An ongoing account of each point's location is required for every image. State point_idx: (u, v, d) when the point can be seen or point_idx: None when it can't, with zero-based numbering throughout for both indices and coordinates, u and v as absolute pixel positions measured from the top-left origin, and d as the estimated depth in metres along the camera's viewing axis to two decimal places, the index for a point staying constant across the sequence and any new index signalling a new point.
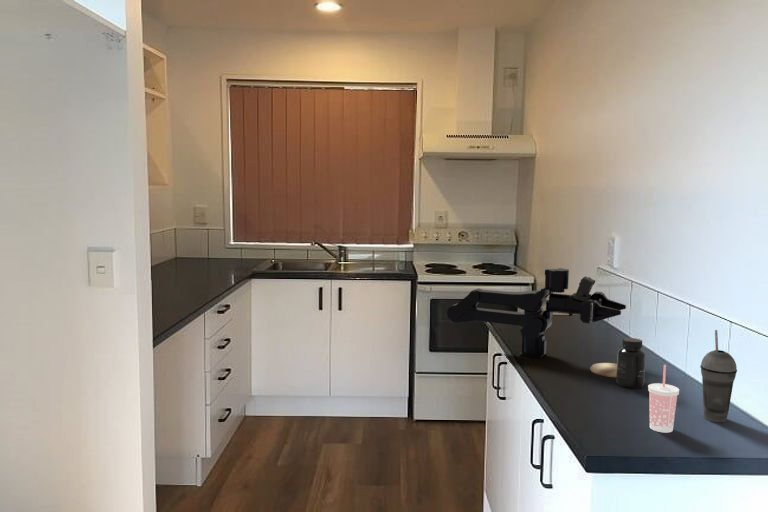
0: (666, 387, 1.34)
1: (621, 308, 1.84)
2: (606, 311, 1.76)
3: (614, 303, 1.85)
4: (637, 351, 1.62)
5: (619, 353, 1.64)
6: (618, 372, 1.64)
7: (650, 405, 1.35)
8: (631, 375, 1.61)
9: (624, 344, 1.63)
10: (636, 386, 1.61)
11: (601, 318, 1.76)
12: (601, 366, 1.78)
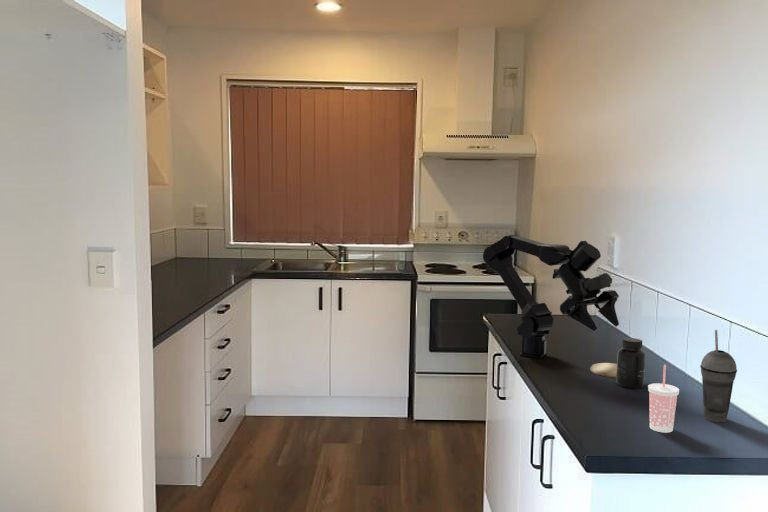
0: (666, 387, 1.34)
1: (613, 323, 1.73)
2: (585, 318, 1.69)
3: (612, 314, 1.74)
4: (637, 351, 1.62)
5: (619, 353, 1.64)
6: (618, 372, 1.64)
7: (650, 405, 1.35)
8: (631, 375, 1.61)
9: (624, 344, 1.63)
10: (636, 386, 1.61)
11: (577, 319, 1.70)
12: (601, 366, 1.78)
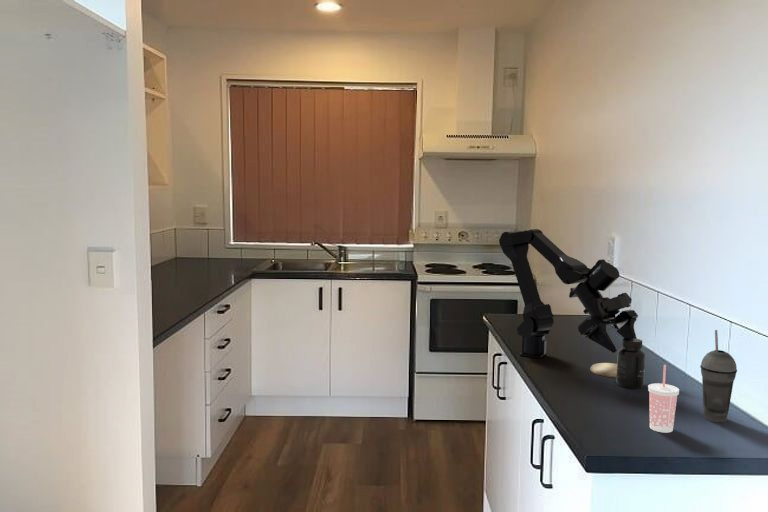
0: (666, 387, 1.34)
1: None
2: (604, 340, 1.64)
3: (632, 335, 1.69)
4: (637, 351, 1.62)
5: (619, 353, 1.64)
6: (618, 372, 1.64)
7: (650, 405, 1.35)
8: (631, 375, 1.61)
9: (624, 344, 1.63)
10: (636, 386, 1.61)
11: (596, 341, 1.65)
12: (601, 366, 1.78)
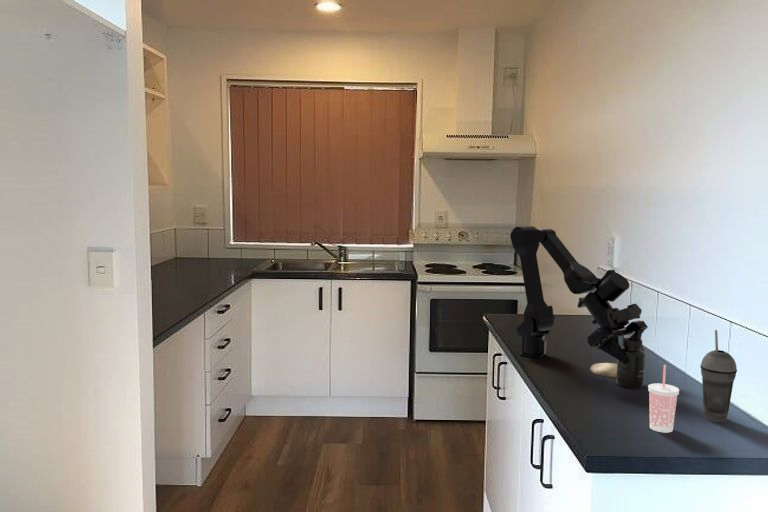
0: (666, 387, 1.34)
1: None
2: (616, 351, 1.62)
3: None
4: (637, 351, 1.62)
5: None
6: (618, 372, 1.64)
7: (650, 405, 1.35)
8: (631, 375, 1.61)
9: (624, 344, 1.63)
10: (636, 386, 1.61)
11: (607, 352, 1.64)
12: (601, 366, 1.78)
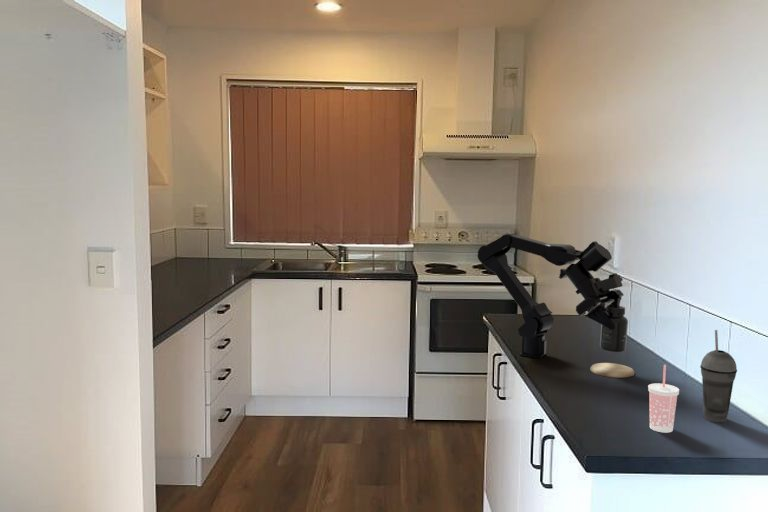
0: (666, 387, 1.34)
1: None
2: (603, 318, 1.72)
3: None
4: (621, 317, 1.72)
5: None
6: (603, 338, 1.74)
7: (650, 405, 1.35)
8: (616, 340, 1.72)
9: (609, 311, 1.73)
10: (621, 350, 1.72)
11: (594, 319, 1.73)
12: (601, 366, 1.78)
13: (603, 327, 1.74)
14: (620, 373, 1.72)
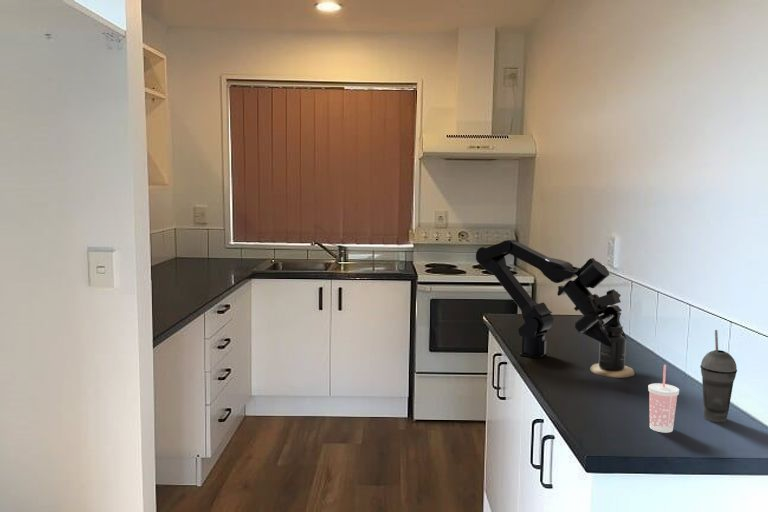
0: (666, 387, 1.34)
1: None
2: (601, 335, 1.72)
3: None
4: (619, 336, 1.74)
5: None
6: (602, 357, 1.75)
7: (650, 405, 1.35)
8: (615, 359, 1.73)
9: (607, 330, 1.74)
10: (619, 369, 1.73)
11: (592, 336, 1.73)
12: None
13: (601, 346, 1.75)
14: (620, 373, 1.72)
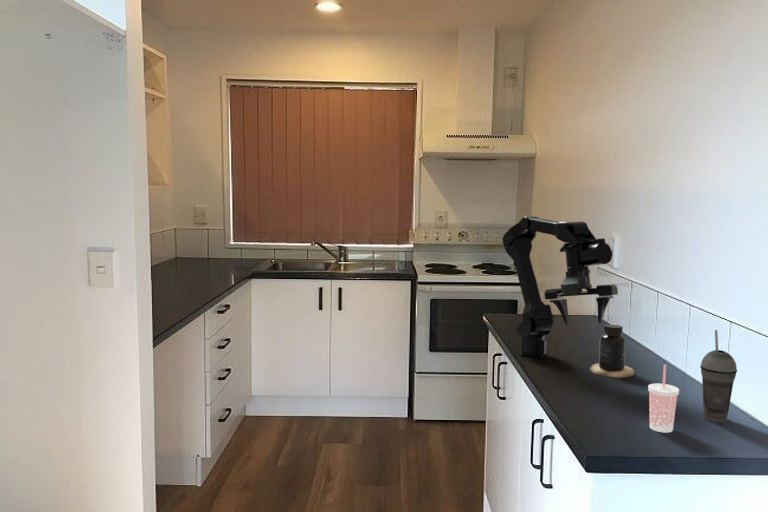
0: (666, 387, 1.34)
1: None
2: None
3: None
4: (619, 337, 1.73)
5: (603, 339, 1.75)
6: (602, 357, 1.75)
7: (650, 405, 1.35)
8: (615, 359, 1.73)
9: (607, 330, 1.74)
10: (620, 369, 1.73)
11: None
12: None
13: (601, 346, 1.75)
14: (620, 373, 1.72)
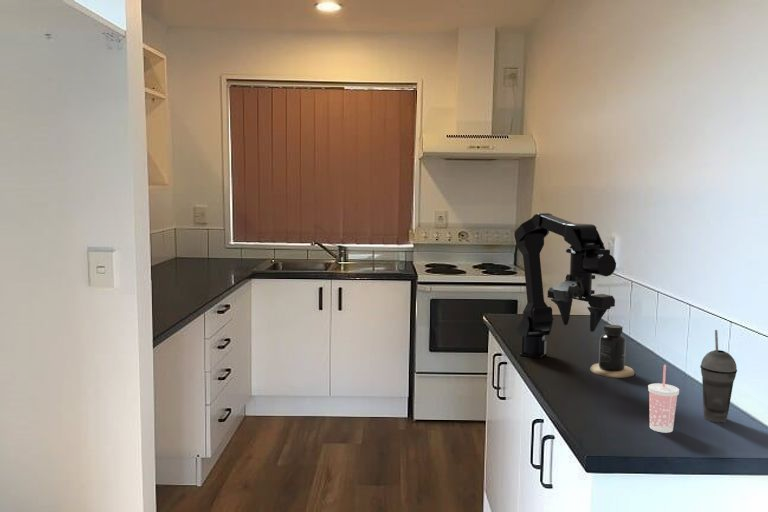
0: (666, 387, 1.34)
1: None
2: None
3: None
4: (619, 337, 1.73)
5: (603, 339, 1.75)
6: (602, 357, 1.75)
7: (650, 405, 1.35)
8: (615, 359, 1.73)
9: (607, 330, 1.74)
10: (620, 369, 1.73)
11: None
12: None
13: (601, 347, 1.75)
14: (620, 373, 1.72)
